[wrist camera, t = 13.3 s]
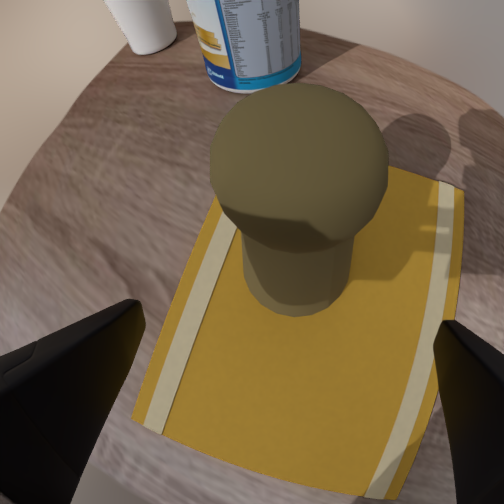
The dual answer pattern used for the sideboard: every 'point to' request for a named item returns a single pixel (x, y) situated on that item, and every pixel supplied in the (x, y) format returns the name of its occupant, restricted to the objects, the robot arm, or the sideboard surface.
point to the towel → (314, 352)
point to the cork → (298, 190)
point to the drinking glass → (144, 23)
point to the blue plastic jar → (248, 42)
